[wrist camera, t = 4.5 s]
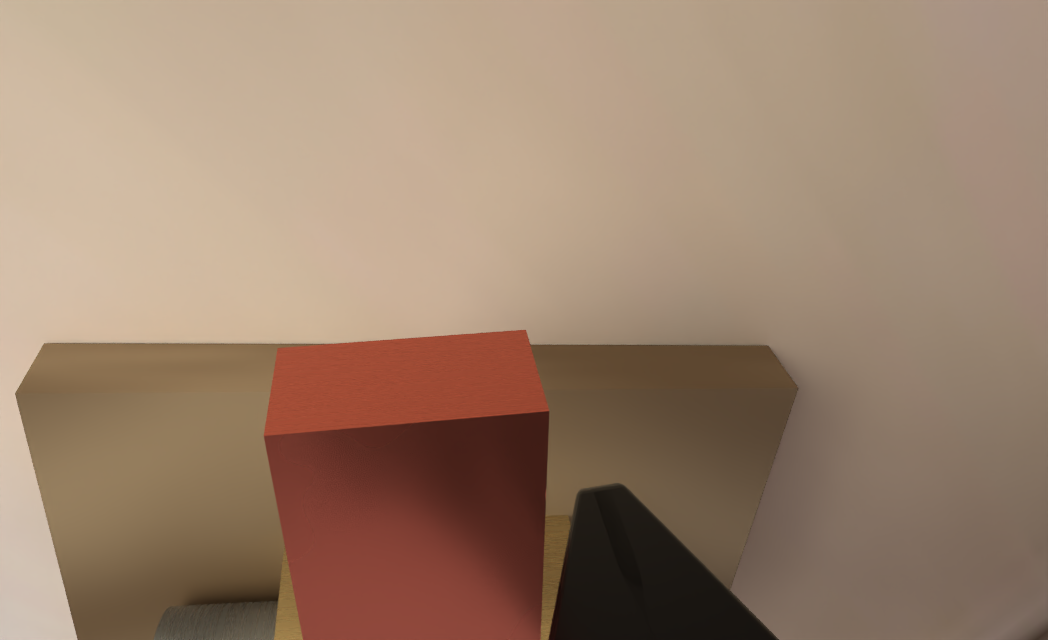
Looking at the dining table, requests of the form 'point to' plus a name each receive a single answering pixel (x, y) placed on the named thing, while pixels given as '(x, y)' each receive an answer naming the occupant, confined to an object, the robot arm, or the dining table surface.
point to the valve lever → (412, 486)
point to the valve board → (246, 484)
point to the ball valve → (273, 626)
